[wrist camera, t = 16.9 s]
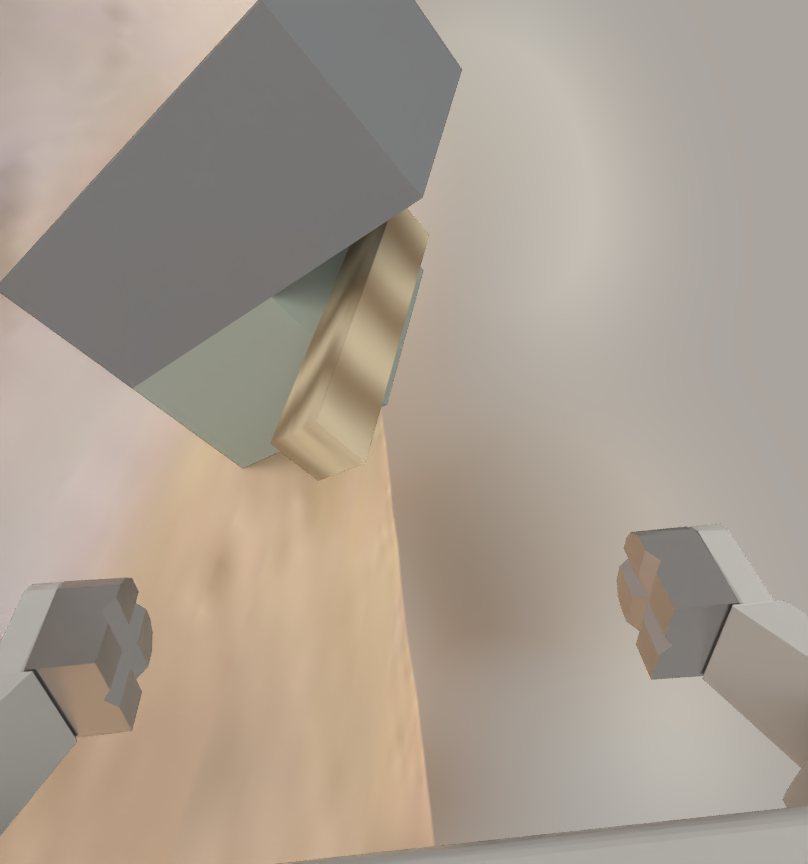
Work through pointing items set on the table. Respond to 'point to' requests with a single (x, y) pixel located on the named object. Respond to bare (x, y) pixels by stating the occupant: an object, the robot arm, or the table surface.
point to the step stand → (245, 211)
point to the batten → (352, 351)
